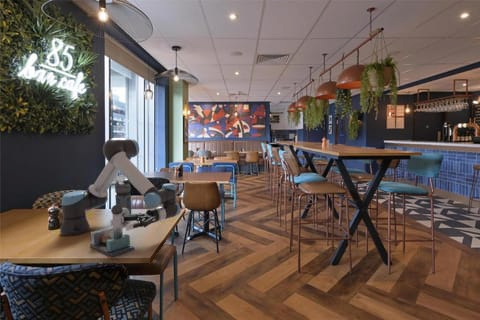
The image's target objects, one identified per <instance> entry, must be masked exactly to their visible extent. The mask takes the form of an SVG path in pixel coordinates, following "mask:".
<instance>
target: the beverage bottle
mask: <svg viewBox="0 0 480 320" xmlns="http://www.w3.org/2000/svg"><path fill="white" fill-rule="evenodd" d="M131 190H132V183H131V182H130V181H129V180H128V179H126V180H125V181H122V182H121V183H120V181H116V182H115V185H114V192H115V193H116V194H115V205H120V206H122V208H127V209H128V210H129V213H130V215H131V214H132V195H131ZM123 215H124V213H123Z"/></svg>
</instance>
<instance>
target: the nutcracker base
mask: <svg viewBox="0 0 480 320" xmlns="http://www.w3.org/2000/svg"><path fill="white" fill-rule="evenodd" d="M106 234H108V235H110V236H111V239H112V238H114V233H113V227H111V226H109V227H106V228H102V229H98V230H94V231H90V239H91V240H90V241H91V242H90V243H89V247H90V248H92V249H93V250H96V251H97V252H100V253H102V254H104V255H106V256H108V257H110V258H112V259H113V258H116V257H119V256H121V255H125V254H127V253H130V252H132V251H135V245H134V246H133V245H132V244H130V245H129V246H126V247H123V248H120V249H118V250H115V251H112V252H109V251H107V243H103V242H102V237H103V236H104V235H106Z"/></svg>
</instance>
